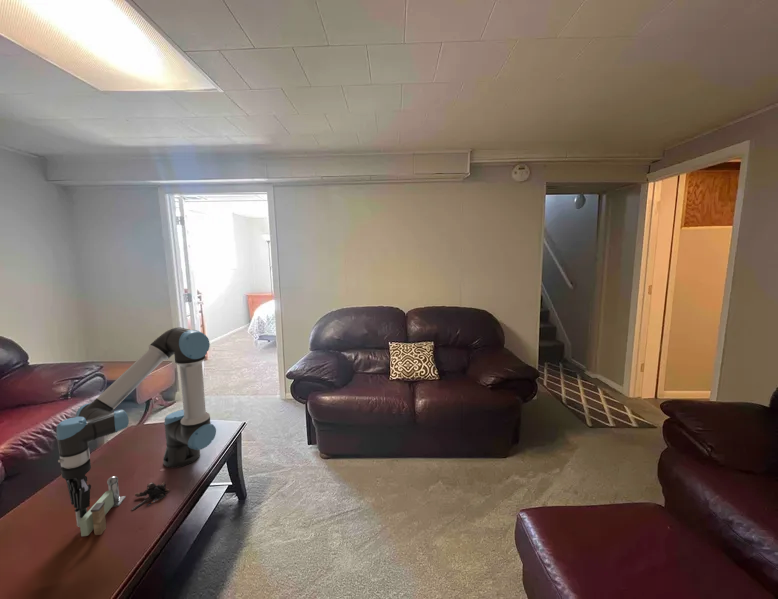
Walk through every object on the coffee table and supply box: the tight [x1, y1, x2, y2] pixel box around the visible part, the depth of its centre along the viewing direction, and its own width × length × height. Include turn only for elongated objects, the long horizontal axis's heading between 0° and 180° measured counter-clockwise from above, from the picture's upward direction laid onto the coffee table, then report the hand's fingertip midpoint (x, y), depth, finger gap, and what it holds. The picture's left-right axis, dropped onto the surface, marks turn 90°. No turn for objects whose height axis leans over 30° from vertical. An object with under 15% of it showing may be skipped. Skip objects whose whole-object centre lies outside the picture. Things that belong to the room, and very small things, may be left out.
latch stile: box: [90, 502, 107, 536], centre depth 120 cm, size 2×3×10 cm
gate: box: [79, 490, 114, 537], centre depth 125 cm, size 15×2×6 cm, turn 11°
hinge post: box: [106, 475, 126, 508], centre depth 134 cm, size 5×5×11 cm
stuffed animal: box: [130, 481, 170, 511], centre depth 138 cm, size 12×10×12 cm
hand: (82, 523), depth 122 cm, fingers closed
